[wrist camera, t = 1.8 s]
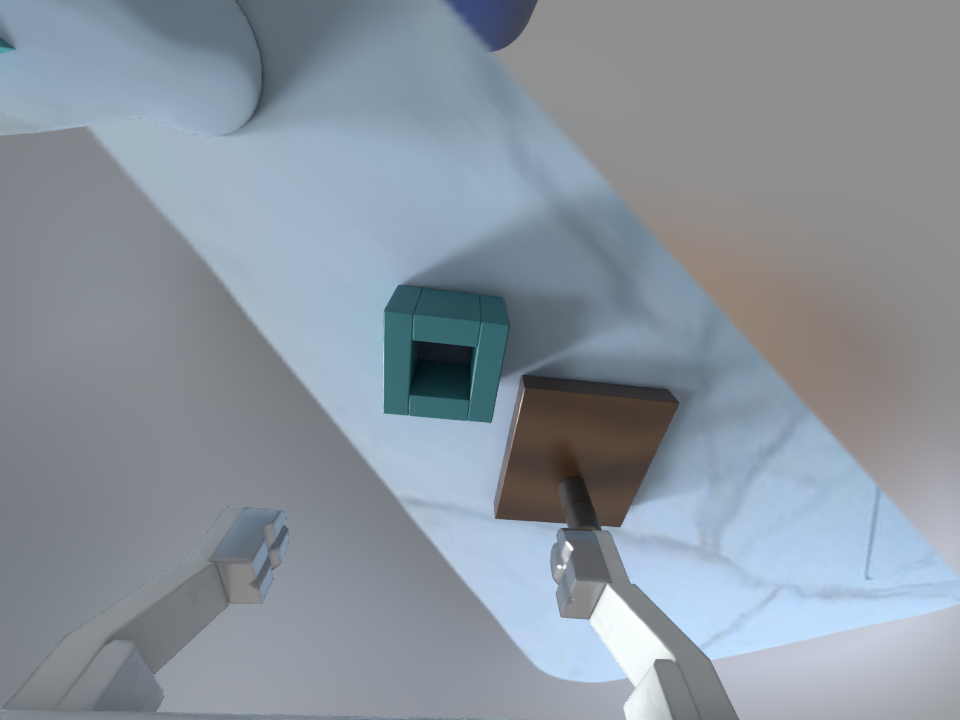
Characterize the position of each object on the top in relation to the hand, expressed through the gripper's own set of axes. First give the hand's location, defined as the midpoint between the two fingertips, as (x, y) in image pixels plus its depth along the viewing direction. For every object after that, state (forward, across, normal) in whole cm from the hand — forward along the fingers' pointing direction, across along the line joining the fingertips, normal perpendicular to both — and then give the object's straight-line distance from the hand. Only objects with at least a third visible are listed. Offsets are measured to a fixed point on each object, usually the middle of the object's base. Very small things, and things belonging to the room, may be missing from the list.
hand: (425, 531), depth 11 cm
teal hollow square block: (+13, 0, 0) cm, 13 cm away
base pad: (+13, -10, +8) cm, 18 cm away
